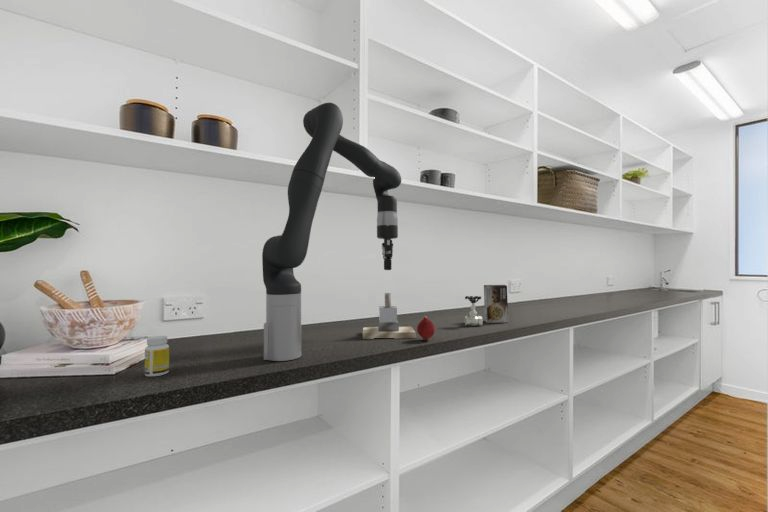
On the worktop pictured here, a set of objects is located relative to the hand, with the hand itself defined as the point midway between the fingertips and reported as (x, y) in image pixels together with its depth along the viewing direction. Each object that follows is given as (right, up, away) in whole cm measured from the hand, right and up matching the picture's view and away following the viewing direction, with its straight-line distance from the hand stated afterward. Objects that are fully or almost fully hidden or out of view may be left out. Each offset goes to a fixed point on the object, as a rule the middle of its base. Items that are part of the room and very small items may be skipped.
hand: (387, 270), depth 127 cm
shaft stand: (0, -23, -1) cm, 23 cm away
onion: (+13, -23, -10) cm, 28 cm away
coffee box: (+48, -24, +28) cm, 61 cm away
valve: (+35, -24, +18) cm, 46 cm away
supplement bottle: (-54, -22, -45) cm, 74 cm away
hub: (0, -18, -1) cm, 18 cm away
